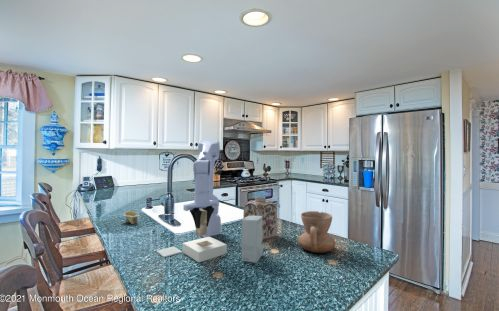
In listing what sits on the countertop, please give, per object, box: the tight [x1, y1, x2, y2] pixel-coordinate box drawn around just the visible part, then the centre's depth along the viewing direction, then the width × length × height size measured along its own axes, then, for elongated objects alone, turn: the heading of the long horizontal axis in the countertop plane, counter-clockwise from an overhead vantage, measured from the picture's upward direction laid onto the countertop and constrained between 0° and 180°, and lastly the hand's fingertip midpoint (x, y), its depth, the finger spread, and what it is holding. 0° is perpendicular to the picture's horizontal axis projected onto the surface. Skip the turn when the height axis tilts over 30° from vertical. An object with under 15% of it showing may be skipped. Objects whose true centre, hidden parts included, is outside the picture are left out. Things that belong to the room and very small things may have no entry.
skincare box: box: [241, 215, 264, 264], centre depth 90 cm, size 8×6×15 cm
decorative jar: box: [242, 196, 278, 241], centre depth 116 cm, size 12×12×18 cm
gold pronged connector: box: [122, 210, 141, 225], centre depth 133 cm, size 12×18×7 cm, turn 68°
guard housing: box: [181, 236, 227, 263], centre depth 94 cm, size 12×12×4 cm
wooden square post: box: [195, 210, 207, 237], centre depth 94 cm, size 3×3×9 cm
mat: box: [155, 246, 183, 258], centre depth 94 cm, size 7×7×1 cm
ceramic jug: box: [297, 210, 336, 254], centre depth 99 cm, size 18×14×14 cm
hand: (201, 226), depth 94 cm, fingers closed on wooden square post, 3 cm apart
